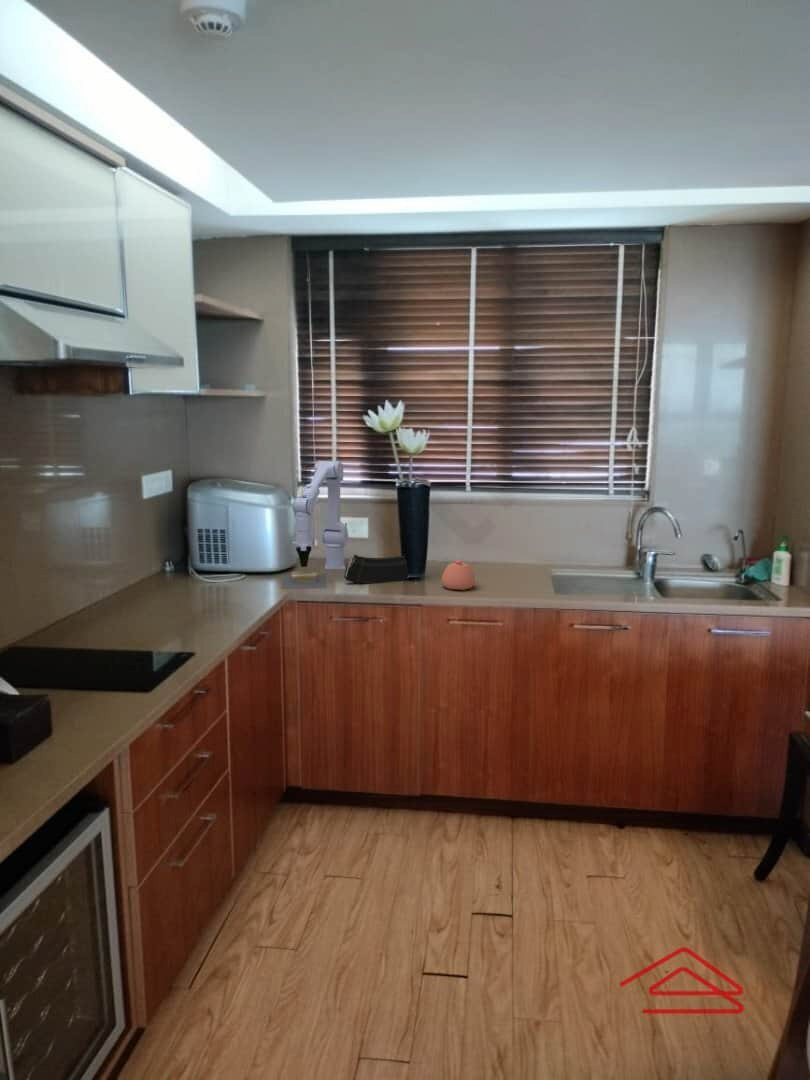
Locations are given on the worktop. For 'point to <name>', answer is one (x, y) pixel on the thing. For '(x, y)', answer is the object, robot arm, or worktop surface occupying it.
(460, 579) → the sugar bowl
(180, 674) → the worktop surface
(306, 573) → the tile
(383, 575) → the magazine
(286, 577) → the mat
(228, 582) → the worktop surface
